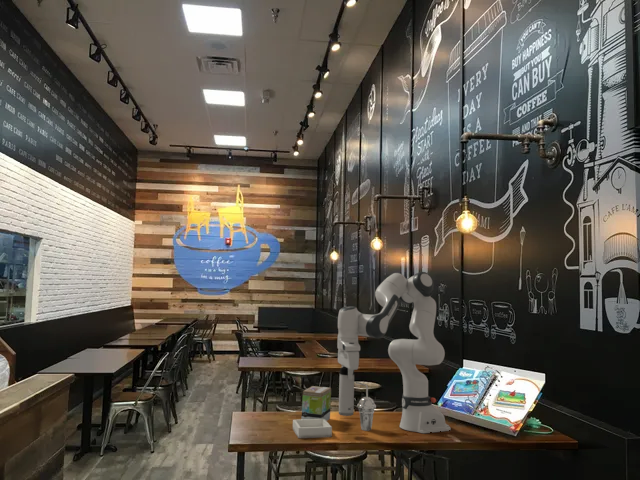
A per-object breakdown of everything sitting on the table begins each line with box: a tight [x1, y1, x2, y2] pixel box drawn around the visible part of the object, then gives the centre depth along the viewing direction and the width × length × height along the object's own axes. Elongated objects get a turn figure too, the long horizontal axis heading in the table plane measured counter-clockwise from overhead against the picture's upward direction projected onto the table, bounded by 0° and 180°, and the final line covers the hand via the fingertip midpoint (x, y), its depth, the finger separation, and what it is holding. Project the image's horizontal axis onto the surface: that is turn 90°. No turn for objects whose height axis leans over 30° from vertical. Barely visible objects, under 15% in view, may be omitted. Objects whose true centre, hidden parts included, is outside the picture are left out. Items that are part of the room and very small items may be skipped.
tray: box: [292, 418, 333, 439], centre depth 215 cm, size 14×14×4 cm
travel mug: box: [338, 366, 355, 417], centre depth 216 cm, size 6×7×20 cm
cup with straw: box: [355, 381, 377, 431], centre depth 224 cm, size 8×9×20 cm
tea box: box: [300, 385, 332, 422], centre depth 236 cm, size 15×10×15 cm, turn 164°
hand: (347, 377), depth 217 cm, fingers closed on travel mug, 6 cm apart
